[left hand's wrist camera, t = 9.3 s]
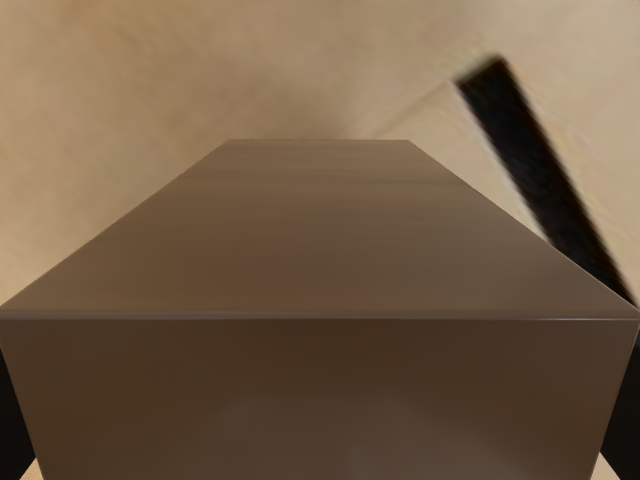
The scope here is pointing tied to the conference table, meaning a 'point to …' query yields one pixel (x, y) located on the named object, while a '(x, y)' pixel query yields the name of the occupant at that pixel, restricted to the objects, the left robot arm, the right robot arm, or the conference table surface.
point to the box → (317, 330)
